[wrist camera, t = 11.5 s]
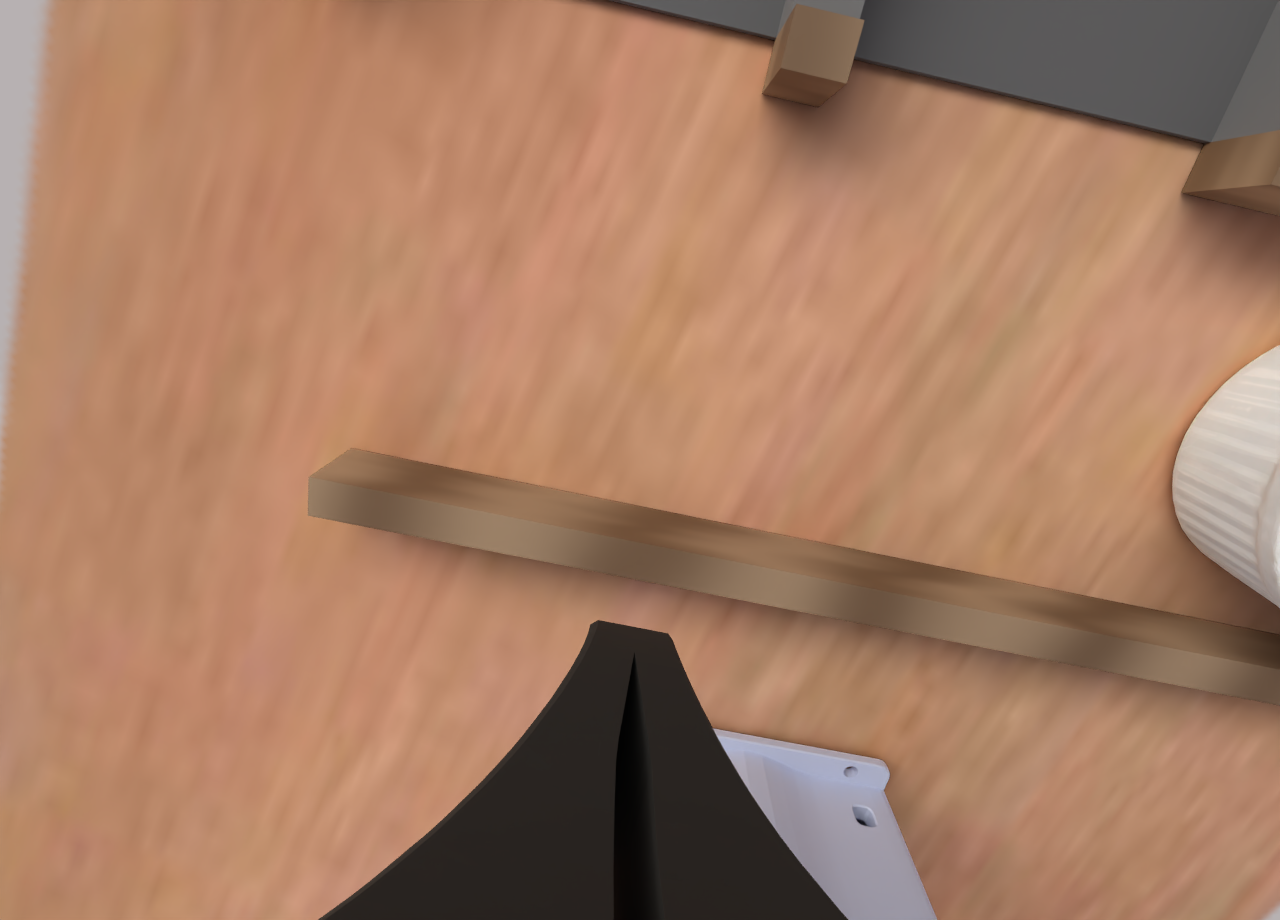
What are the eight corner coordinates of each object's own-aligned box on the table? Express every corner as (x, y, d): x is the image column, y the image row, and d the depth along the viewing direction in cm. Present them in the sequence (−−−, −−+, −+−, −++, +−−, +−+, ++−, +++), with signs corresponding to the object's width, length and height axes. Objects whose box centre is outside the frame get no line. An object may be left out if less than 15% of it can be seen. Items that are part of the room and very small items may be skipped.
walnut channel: (1640, 247, 16) (1888, 249, 13) (1327, 677, 21) (1451, 757, 18) (375, -56, 15) (296, -141, 12) (349, 482, 20) (287, 531, 16)
